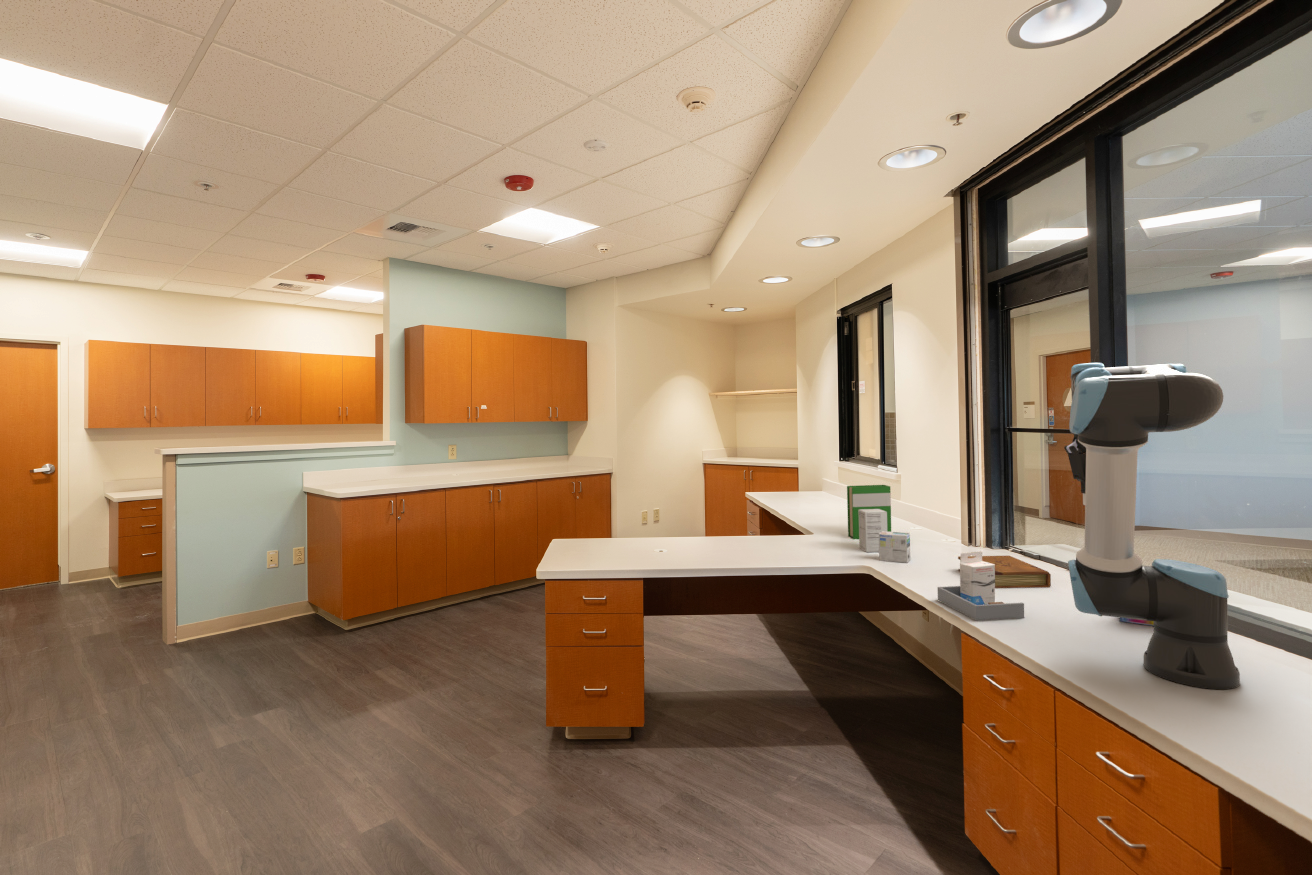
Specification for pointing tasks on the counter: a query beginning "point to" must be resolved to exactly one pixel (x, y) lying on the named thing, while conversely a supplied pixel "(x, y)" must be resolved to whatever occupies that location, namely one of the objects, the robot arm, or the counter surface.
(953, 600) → the tray
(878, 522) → the supplement box
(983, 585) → the ink box
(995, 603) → the walnut block
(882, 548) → the light bulb box
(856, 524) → the hardback book
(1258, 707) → the counter surface
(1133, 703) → the counter surface
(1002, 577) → the diary
